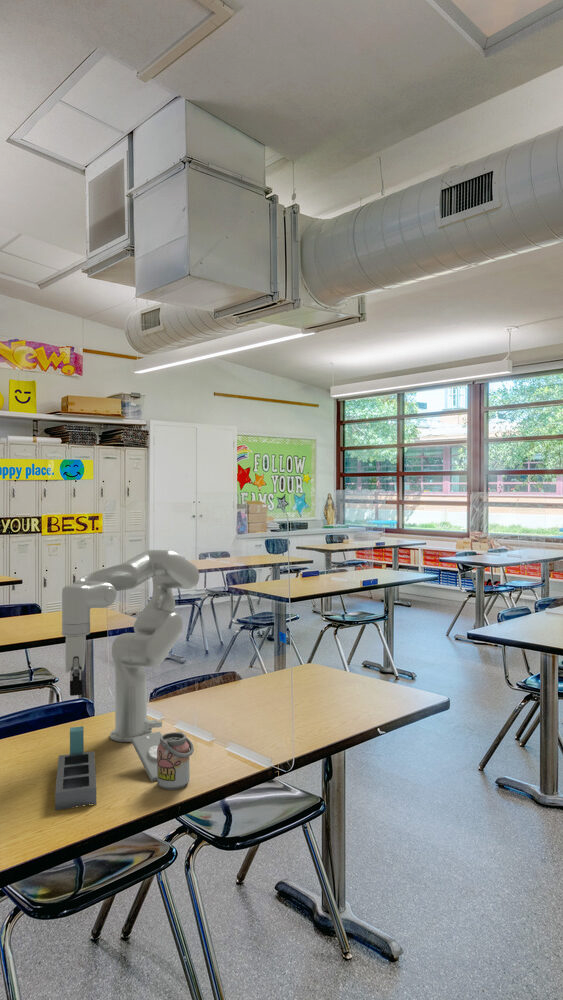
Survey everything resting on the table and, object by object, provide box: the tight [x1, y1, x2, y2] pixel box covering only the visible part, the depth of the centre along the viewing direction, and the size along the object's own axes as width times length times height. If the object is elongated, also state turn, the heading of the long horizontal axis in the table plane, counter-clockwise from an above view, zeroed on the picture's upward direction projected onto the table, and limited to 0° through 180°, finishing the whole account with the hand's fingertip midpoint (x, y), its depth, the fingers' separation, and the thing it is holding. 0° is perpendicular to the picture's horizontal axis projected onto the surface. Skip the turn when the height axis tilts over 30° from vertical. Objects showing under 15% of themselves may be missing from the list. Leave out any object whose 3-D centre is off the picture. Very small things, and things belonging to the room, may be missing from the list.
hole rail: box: [54, 751, 97, 811], centre depth 159 cm, size 9×24×4 cm, turn 18°
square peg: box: [69, 725, 85, 754], centre depth 175 cm, size 4×4×9 cm
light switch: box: [130, 731, 162, 783], centre depth 169 cm, size 8×6×14 cm
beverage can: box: [156, 731, 195, 791], centre depth 159 cm, size 9×8×12 cm
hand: (76, 690), depth 175 cm, fingers open, 9 cm apart
